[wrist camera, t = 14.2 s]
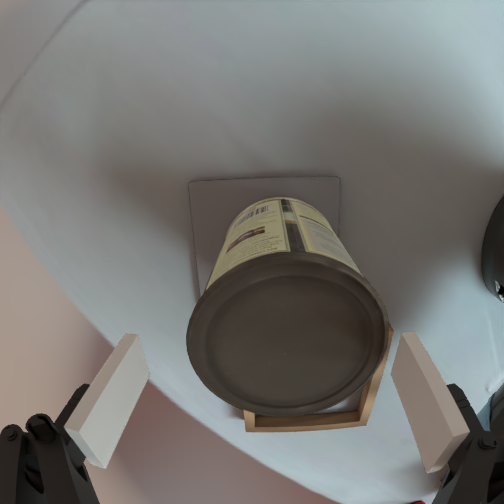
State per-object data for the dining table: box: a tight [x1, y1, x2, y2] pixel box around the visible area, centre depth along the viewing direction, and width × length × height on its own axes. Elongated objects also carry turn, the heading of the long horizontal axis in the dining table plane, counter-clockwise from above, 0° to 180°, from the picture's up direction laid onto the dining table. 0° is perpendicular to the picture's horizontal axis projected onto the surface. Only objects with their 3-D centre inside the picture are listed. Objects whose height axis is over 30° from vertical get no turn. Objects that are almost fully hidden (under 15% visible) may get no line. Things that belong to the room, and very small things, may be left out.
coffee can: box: [186, 197, 389, 417], centre depth 21 cm, size 10×10×14 cm
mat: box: [188, 177, 340, 296], centre depth 28 cm, size 13×13×1 cm
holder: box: [244, 324, 394, 432], centre depth 33 cm, size 16×16×2 cm
